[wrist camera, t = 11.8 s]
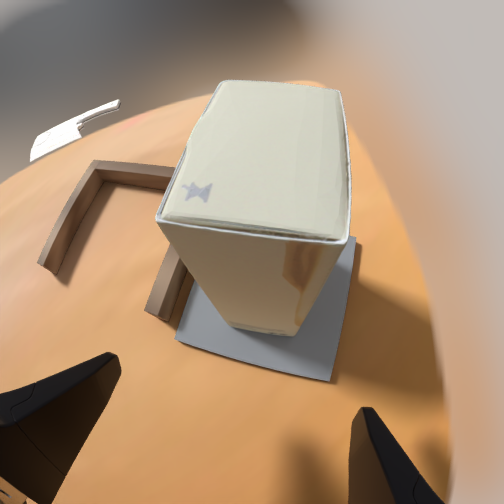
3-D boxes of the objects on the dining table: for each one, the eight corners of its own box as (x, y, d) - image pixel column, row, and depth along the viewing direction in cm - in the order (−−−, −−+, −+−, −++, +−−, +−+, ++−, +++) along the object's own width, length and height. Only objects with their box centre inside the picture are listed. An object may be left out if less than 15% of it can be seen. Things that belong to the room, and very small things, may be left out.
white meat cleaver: (114, 125, 28) (110, 119, 27) (30, 162, 28) (26, 158, 27) (120, 103, 30) (118, 97, 29) (40, 138, 30) (37, 134, 29)
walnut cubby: (168, 321, 18) (157, 315, 16) (50, 271, 20) (36, 262, 18) (219, 189, 22) (215, 173, 20) (102, 172, 24) (93, 160, 22)
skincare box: (296, 338, 16) (355, 263, 5) (226, 327, 17) (143, 233, 6) (308, 244, 19) (345, 84, 8) (245, 235, 19) (219, 74, 8)
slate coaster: (327, 381, 15) (329, 381, 15) (177, 340, 17) (174, 339, 17) (353, 241, 19) (356, 237, 19) (223, 211, 21) (222, 207, 20)
